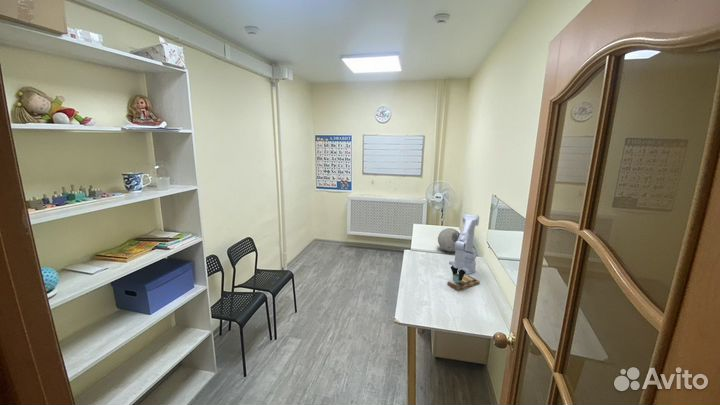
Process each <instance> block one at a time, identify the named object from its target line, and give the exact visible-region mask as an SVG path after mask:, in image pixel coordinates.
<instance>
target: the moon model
mask: <svg viewBox="0 0 720 405" xmlns="http://www.w3.org/2000/svg"><path fill="white" fill-rule="evenodd" d="M459 235H460V232H459V231H458V230H457V229H455V228H449V227H447V228H444V229H442V230H441V231H440V232H439V234H438V236H437V243H438V245H439V247H440V248H441V250H444V251H445V252H448V253H452V252H455V242H456V241H458V238H459Z"/></svg>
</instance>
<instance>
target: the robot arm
mask: <svg viewBox="0 0 720 405" xmlns="http://www.w3.org/2000/svg"><path fill="white" fill-rule="evenodd" d="M479 223H480V216H479V214H470V213H465V212H464V213H463V216H462V224H463V228H462V231H461V232H459V233H460V235H459V238H458V241H456V242H455V251H454V252H455V254H454V261H452V260H450V261H448V264H449V265H451V266H450V269H451V272H452V276H453V275H454V274H457V273H458V274H459V281H461V280H462V278H463V276H464V275H471V274H473V273H476V272H477V270H476V264H477V262H476V259H477V250H476V249H475V248H474V247H473V244H474V237H475V228H476V227H478V226H479Z"/></svg>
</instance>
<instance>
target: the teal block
mask: <svg viewBox="0 0 720 405" xmlns="http://www.w3.org/2000/svg"><path fill="white" fill-rule="evenodd" d="M452 281H453V282H454V283H455V282H456V283H455V284H457V283H459V282H462V280H461V281H459V272H457V274H454V275H453V274H452Z"/></svg>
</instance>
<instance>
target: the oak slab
mask: <svg viewBox="0 0 720 405" xmlns="http://www.w3.org/2000/svg"><path fill="white" fill-rule="evenodd" d="M468 276H469V275H467V274H464V276H463V278H462V282H463V283H464V284H469V283H472V282H473V281H474V279H475V278H474V279H472V278H473V277H472V278H470V277H471V276H470V277H468Z"/></svg>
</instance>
